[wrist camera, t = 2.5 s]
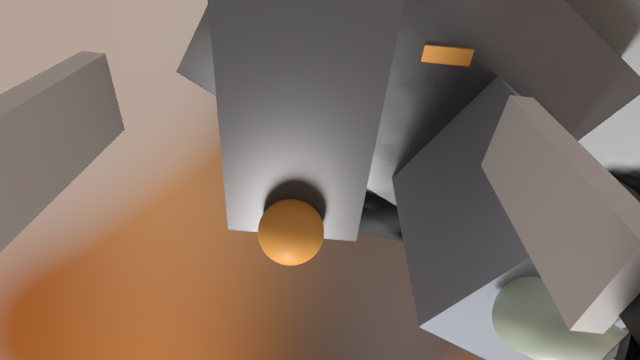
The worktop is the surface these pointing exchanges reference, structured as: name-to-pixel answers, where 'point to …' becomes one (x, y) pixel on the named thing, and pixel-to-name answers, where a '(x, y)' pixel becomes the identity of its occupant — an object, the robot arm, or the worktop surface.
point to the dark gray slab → (300, 114)
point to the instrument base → (500, 49)
